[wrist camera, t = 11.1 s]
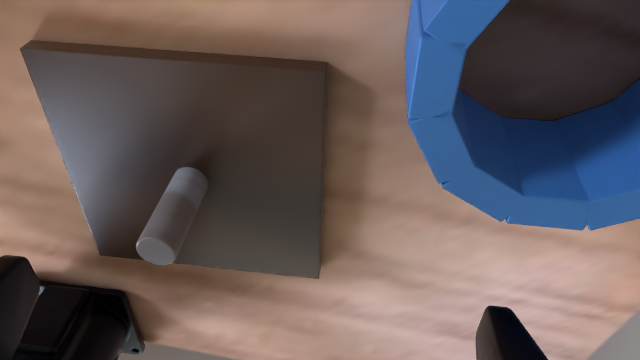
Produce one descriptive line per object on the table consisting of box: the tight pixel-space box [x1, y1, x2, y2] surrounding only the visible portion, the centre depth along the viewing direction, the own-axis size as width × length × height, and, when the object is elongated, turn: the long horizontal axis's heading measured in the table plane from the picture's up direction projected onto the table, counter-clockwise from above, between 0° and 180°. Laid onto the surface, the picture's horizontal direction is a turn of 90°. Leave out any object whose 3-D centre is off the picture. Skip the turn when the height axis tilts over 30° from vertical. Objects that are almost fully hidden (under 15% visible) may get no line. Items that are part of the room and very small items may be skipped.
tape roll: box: [405, 0, 640, 230], centre depth 15 cm, size 10×10×5 cm
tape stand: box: [20, 40, 328, 279], centre depth 21 cm, size 12×12×5 cm
